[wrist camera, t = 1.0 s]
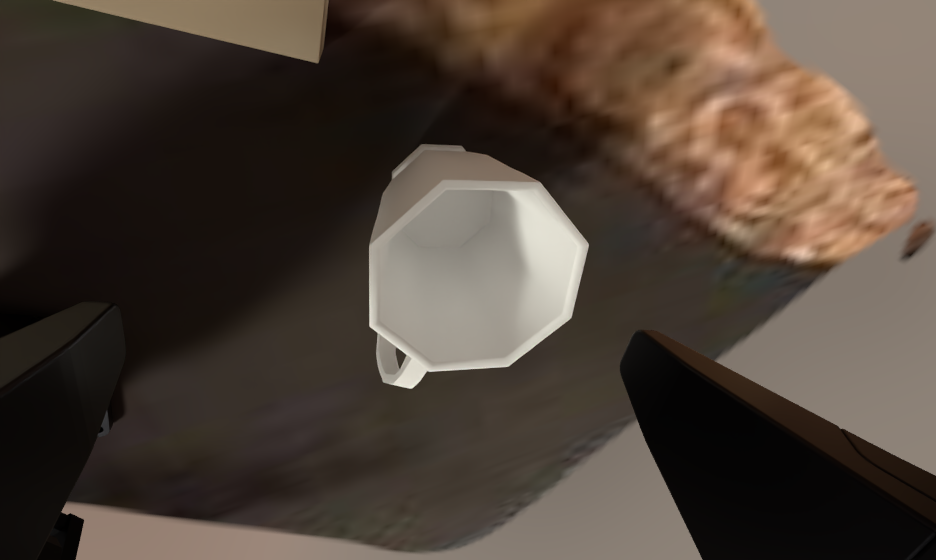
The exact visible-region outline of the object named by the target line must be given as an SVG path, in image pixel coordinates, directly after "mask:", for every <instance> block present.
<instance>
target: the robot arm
mask: <svg viewBox="0 0 936 560" xmlns="http://www.w3.org/2000/svg"><path fill="white" fill-rule="evenodd" d="M125 356H126V344H125V337H124V331H123V324H122V317H121V311H120V309H119V307H118V305H116V304H115V303H112V302H96V301H84V302H81V303H78V304H76V305H74V306H72V307H69V308H67V309H65V310H63V311H60V312H58V313H56V314H53V315H51V316H49V317H47V318H46V317H34V316H26V315H13V314H0V560H75V559H76V555H77V550H78V546H79V541H80V537H81V532H82V528H83V523H84V520H83V519H81V518H79V517H77V516H75V515H73V514H71V513H70V514H68V515H66V514H64V513H62V512H61V511H62V509H63V507H64V505H65V503H66V502H67V500H68V498H69V496H70V494H71V492H72V490H73V488H74V486H75V484H76V482H77V480H78V478H79V476H80V474H81V472H82V470H83V468H84V466H85V464H86V462H87V460H88V458H89V456H90V454H91V451H92V449H93V446H94V444H95V441H96V439H97V437H102V436H105V435H107V434H108V433H109V431H110V430H111V428H112V425H113V420H112V411H111V401H110V400H111V397H112V395H113V392H114V389H115V386H116V384H117V381H118V378H119V375H120V372H121V370H122V367H123V364H124V361H125ZM620 373H621V376H622V379H623V382H624V385H625V387H626V390H627V393H628V395H629V398H630V401H631V404H632V406H633V409H634V412H635V415H636V417H637V420H638V423H639V425H640V428H641V431H642V433H643V436H644V438H645V441H646V443H647V445H648V447H649V449H650V452H651V454H652V456H653V458H654V460H655V462H656V464H657V466H658V468H659V470H660V472H661V474H662V477H663V478H664V481H665V482H666V485H667V487H668V489H669V491H670V493H671V495H672V497H673V499H674V501H675V503H676V505H677V507H678V510H679V512H680V514H681V516H682V518H683V520H684V522H685V524H686V526H687V528H688V530H689V532H690V534H691V536H692V538H693V541H694V543H695V545H696V547H697V549H698V551H699V553H700V555H701V557H702V559H703V560H936V476H935V475H933V474H931V473H929V472H927V471H925V470H922V469H921V468H919V467H917V466H915V465H913V464H911V463H909V462H907V461H905V460H902V459H901V458H899V457H897V456H895V455H893V454H891V453H889V452H887V451H885V450H883V449H881V448H879V447H877V446H875V445H873V444H871V443H869V442H867V441H866V440H864V439H862V438H860V437H858V436H856V435H854V434H852V433H850V432H848V431H846V430H845V429H840V428H839V427H838V426H837V425H835V424H833V423H831V422H829V421H827V420H825V419H823V418H821V417H820V416H818V415H816V414H814V413H812V412H810V411H808V410H806V409H804V408H803V407H800V406H799V405H797V404H795V403H793V402H791V401H789V400H787V399H785V398H783V397H781V396H780V395H778V394H776V393H774V392H772V391H770V390H768V389H766V388H764V387H763V386H761V385H759V384H757V383H755V382H753V381H751V380H749V379H747V378H745V377H743V376H742V375H740V374H738V373H736V372H734V371H732V370H730V369H728V368H726V367H724V366H723V365H721V364H719V363H717V362H715V361H713V360H711V359H709V358H707V357H705V356H704V355H702V354H700V353H698V352H696V351H694V350H692V349H690V348H688V347H686V346H685V345H683V344H681V343H679V342H677V341H675V340H673V339H671V338H669V337H667V336H665V335H664V334H662V333H660V332H658V331H654V330H638V331H636V332H635V333H634V334H633V335H632V337H631V339H630V341H629V344H628V346H627V348H626V350H625V353H624V355H623V357H622V359H621V362H620Z"/></svg>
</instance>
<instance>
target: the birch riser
mask: <svg viewBox="0 0 936 560" xmlns="http://www.w3.org/2000/svg"><path fill="white" fill-rule="evenodd" d="M54 1H58V2H62V3H66V4H71V5H75V6H79V7H83V8H87V9H92V10H96V11H100V12H104V13H108V14H113V15H117V16H121V17H125V18H129V19H134V20H138V21H142V22H146V23H150V24H155V25H159V26H163V27H167V28H171V29H176V30H180V31H184V32H188V33H192V34H197V35H201V36H205V37H209V38H214V39H218V40H222V41H226V42H230V43H235V44H239V45H243V46H247V47H251V48H256V49H260V50H264V51H268V52H272V53H277V54H281V55H285V56H289V57H293V58H298V59H302V60H306V61H310V62H314V63H318V62H319V60H320V57H321V54H322V52H323V49H324V40H325V31H326V22H327V12H328V3H329V0H54Z"/></svg>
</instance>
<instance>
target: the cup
mask: <svg viewBox="0 0 936 560" xmlns="http://www.w3.org/2000/svg"><path fill="white" fill-rule="evenodd" d="M588 247H589V244H588V243H587V241H586V240H585V239H584V237H583V236H582V235H581V234H580V232H579V231H578V230H577V228H576V227H575V226H574V225H573V223H572V222H571V221H570V220H569V218H568V217H567V216H566V214H565V213H564V212H563V211H562V209H561V208H560V207H559V206H558V204H557V203H556V202H555V200H554V199H553V198H552V197H551V195H550V194H549V193H548V191H547V190H546V189H545V188H544V186H543V185H542V184H541V183H540V182H539V181H537V180H535V179H533V178H531V177H529V176H528V175H526V174H524V173H522V172H519V171H517V170H515V169H513V168H511V167H509V166H507V165H505V164H503V163H501V162H499V161H498V160H496V159H494V158H492V157H490V156H488V155H485V154H479V153H473V152H466V150H465V149H464V148H463V147H462V146H455V145H431V144H421V145H420V146H419V147H418V148H417V149H416V150H415V151H414V152H413V153H411V154H410V155H409V156H408V157H407V158H406V159H405V160H404V161H403V162H402V163H401V164H399V165H398V166H397V167H396V168H395V169H394V170H393V171H392V181H391V182H390V184H389V185H388V186H387V188H386V189H385V191H384V192H383V194H382V198H381V203H380V207H379V211H378V216H377V219H376V222H375V225H374V229H373V232H372V236H371V240H370V245H369V306H370V327H371V328H372V329H373V330H375V331H376V332H377V333H378V336H377V349H376V356H377V363H378V369H379V372H380V374H381V377H382V380H383V382H384V383H388V384H392V385H396V386H400V387H405V388H411V389H412V388H413V387H414V386H415V385H416V384H417V383H419V382H420V380H421V379H422V377H423V376H424V374H425V373H426V371H427V370H428V371H429V372H433V371H448V370H464V369H480V368H495V367H508V366H510V365H511V364H512V363H513V362H515V361H516V360H517V359H519V358H520V357H521V356H523V355H524V354H525V353H526V352H528V351H529V350H530V349H532V348H533V347H534V346H536V345H537V344H538V343H539V342H541V341H542V340H543V339H545V338H546V337H547V336H549V335H550V334H551V333H553V332H554V331H555V330H556V329H558V328H559V327H560V326H562V325H563V324H564V323H566V322H567V321H568V320H569V319H571V317H572V313H573V309H574V305H575V300H576V296H577V292H578V288H579V284H580V280H581V276H582V271H583V267H584V263H585V259H586V255H587V251H588ZM396 347H397V348H399V349H400V350H401V351H403V352H404V353H405V354H406V355H407V356H406V358H405V360H404V362H403V364H402V367H401V369H399V367H398V363H397V358H396V354H395V352H396Z"/></svg>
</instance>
